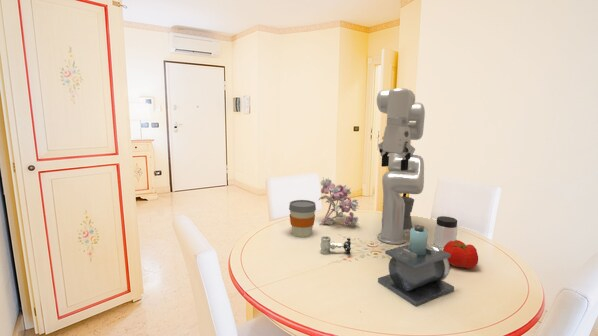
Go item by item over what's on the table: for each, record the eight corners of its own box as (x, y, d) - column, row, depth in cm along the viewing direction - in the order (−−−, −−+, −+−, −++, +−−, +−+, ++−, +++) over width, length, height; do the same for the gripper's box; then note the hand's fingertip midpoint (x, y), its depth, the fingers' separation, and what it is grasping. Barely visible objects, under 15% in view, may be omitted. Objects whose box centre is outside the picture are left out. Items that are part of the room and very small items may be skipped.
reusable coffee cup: (319, 232, 155) (320, 202, 153) (306, 240, 145) (307, 208, 142) (298, 227, 162) (298, 198, 159) (283, 235, 151) (283, 204, 149)
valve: (320, 256, 130) (350, 257, 129) (320, 240, 129) (351, 241, 128) (320, 249, 136) (348, 250, 136) (320, 234, 135) (349, 235, 135)
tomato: (434, 260, 128) (435, 239, 126) (458, 255, 132) (460, 236, 130) (459, 275, 116) (462, 252, 114) (485, 269, 120) (488, 248, 119)
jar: (438, 239, 148) (440, 214, 147) (457, 244, 143) (459, 218, 141) (431, 245, 142) (434, 219, 140) (451, 250, 137) (454, 223, 135)
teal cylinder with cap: (416, 247, 109) (418, 223, 108) (429, 253, 105) (431, 227, 103) (405, 250, 106) (407, 225, 105) (418, 256, 102) (420, 230, 101)
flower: (335, 234, 149) (356, 184, 151) (302, 217, 165) (321, 173, 167) (357, 241, 163) (375, 196, 165) (324, 225, 179) (342, 184, 181)
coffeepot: (412, 232, 157) (415, 196, 154) (392, 230, 160) (394, 195, 157) (411, 222, 172) (414, 189, 169) (393, 221, 174) (395, 188, 171)
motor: (414, 270, 119) (417, 236, 117) (453, 290, 105) (457, 253, 103) (377, 282, 110) (380, 245, 108) (415, 306, 96) (419, 265, 94)
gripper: (423, 123, 114) (419, 171, 117) (387, 122, 129) (384, 164, 132) (408, 123, 111) (404, 172, 113) (373, 122, 125) (371, 165, 128)
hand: (394, 168), depth 123 cm, fingers open, 9 cm apart
